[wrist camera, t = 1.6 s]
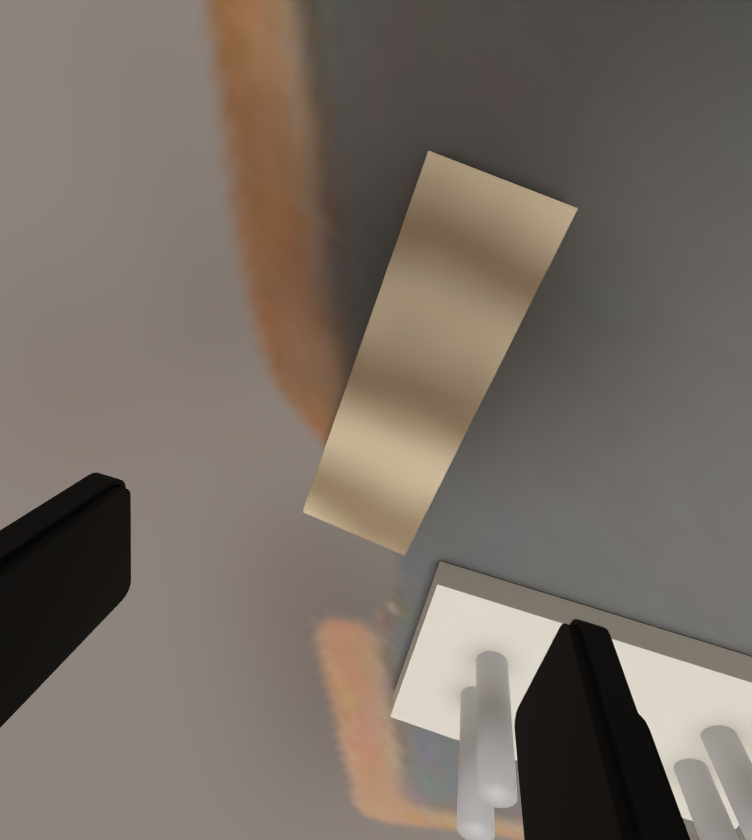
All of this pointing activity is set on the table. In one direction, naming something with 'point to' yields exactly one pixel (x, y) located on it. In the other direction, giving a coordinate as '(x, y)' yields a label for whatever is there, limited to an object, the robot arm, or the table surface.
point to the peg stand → (515, 669)
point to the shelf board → (433, 345)
